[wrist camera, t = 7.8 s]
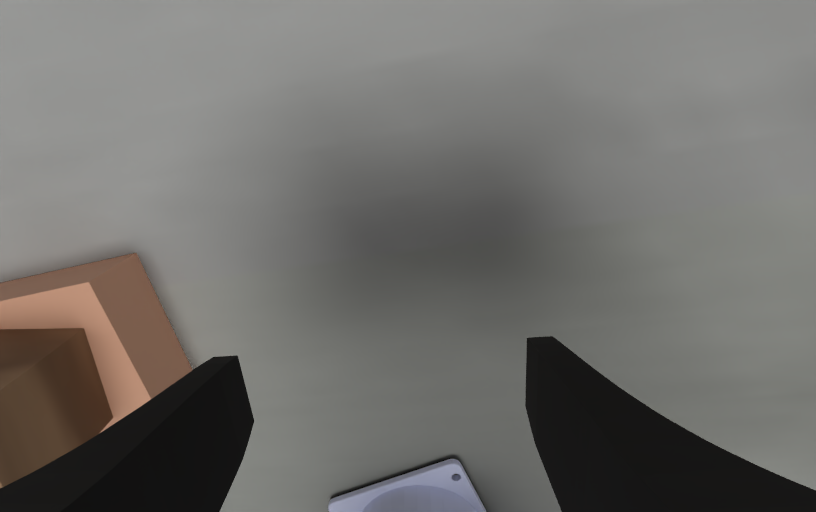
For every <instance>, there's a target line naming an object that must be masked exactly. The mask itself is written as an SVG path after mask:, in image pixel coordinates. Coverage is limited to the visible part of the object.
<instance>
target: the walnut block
mask: <svg viewBox="0 0 816 512" xmlns="http://www.w3.org/2000/svg"><path fill="white" fill-rule="evenodd" d="M112 419H113V415H112V412H111V409H110V406H109V403H108V400H107V397H106V394H105V391H104V388H103V385H102V382H101V379H100V376H99V373H98V369H97V366H96V363H95V360H94V357H93V354H92V351H91V348H90V345H89V342H88V339H87V336H86V333H85V330H84V328H55V329H0V488H2V487H4V486H6V485H8V484H10V483H12V482H14V481H16V480H18V479H20V478H22V477H24V476H26V475H28V474H30V473H32V472H34V471H36V470H38V469H39V468H41V467H43V466H45V465H47V464H48V463H50V462H52V461H54V460H56V459H57V458H59V457H61V456H63V455H64V454H66V453H68V452H70V451H71V450H73V449H75V448H76V447H78V446H80V445H82V444H83V443H85V442H87V441H88V440H90V439H91V438H93V437H95V436H96V435H98V434H99V433H100V432H101V431H102V430H103V429H104V428H105V426H106V425H107V424H108V423H109V422H110V421H111V420H112Z"/></svg>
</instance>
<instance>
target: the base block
mask: <svg viewBox="0 0 816 512" xmlns="http://www.w3.org/2000/svg"><path fill="white" fill-rule="evenodd" d="M55 328H84V330H85V333H86V336H87V339H88V342H89V345H90V348H91V351H92V354H93V357H94V360H95V363H96V366H97V369H98V373H99V376H100V379H101V382H102V385H103V388H104V391H105V394H106V397H107V400H108V403H109V406H110V409H111V412H112V415H113V419H112V420H111V421H110V422H109V423H108V424H107V425H106V426H105V428H104V429H103V430H102V431H104V430H105V429H107V428H109V427H110V426H112V425H113V424H115V423H116V422H118V421H119V420H121V419H122V418H124V417H125V416H127V415H128V414H130V413H132V412H133V411H135V410H136V409H138V408H139V407H141V406H142V405H144V404H145V403H146V402H148V401H149V400H151V399H152V398H154V397H155V396H156V395H158V394H159V393H161V392H162V391H164V390H165V389H166V388H168V387H169V386H171V385H172V384H174V383H175V382H176V381H178V380H179V379H181V378H182V377H184V376H185V375H187V374H188V373H189V372H191V371H192V368H191V366H190V364H189V362H188V360H187V358H186V356H185V353H184V351H183V349H182V347H181V345H180V343H179V341H178V339H177V337H176V335H175V333H174V331H173V328H172V326H171V324H170V322H169V320H168V318H167V316H166V314H165V312H164V310H163V308H162V306H161V303H160V301H159V299H158V297H157V295H156V293H155V291H154V289H153V287H152V285H151V283H150V281H149V278H148V276H147V274H146V272H145V270H144V268H143V266H142V264H141V262H140V260H139V258H138V256H137V253H133V254H129V255H124V256H120V257H115V258H111V259H106V260H102V261H97V262H93V263H88V264H84V265H79V266H75V267H70V268H66V269H61V270H57V271H52V272H48V273H43V274H39V275H34V276H30V277H25V278H21V279H16V280H12V281H7V282H3V283H0V329H55ZM102 431H101V432H102ZM101 432H100V433H101Z"/></svg>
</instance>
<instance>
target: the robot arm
mask: <svg viewBox="0 0 816 512" xmlns="http://www.w3.org/2000/svg"><path fill="white" fill-rule="evenodd" d="M525 406H526V410H527V414H528V418H529V422H530V426H531V430H532V433H533V437H534V441H535V444H536V447H537V450H538V452H539V455H540V457H541V460H542V462H543V465H544V468H545V470H546V473H547V475H548V478H549V480H550V483H551V485H552V488H553V490H554V493H555V495H556V498H557V500H558V503H559V505H560V508H561V510H562V512H816V490H813V489H811V488H808V487H806V486H803V485H801V484H798V483H796V482H793V481H791V480H789V479H786V478H784V477H782V476H780V475H777V474H775V473H773V472H770V471H768V470H766V469H764V468H761V467H759V466H757V465H755V464H753V463H751V462H749V461H747V460H745V459H743V458H740V457H738V456H736V455H734V454H732V453H730V452H728V451H726V450H724V449H722V448H720V447H718V446H716V445H714V444H712V443H710V442H708V441H706V440H704V439H702V438H701V437H699V436H697V435H695V434H693V433H692V432H690V431H688V430H686V429H685V428H683V427H681V426H679V425H677V424H676V423H674V422H672V421H670V420H669V419H667V418H665V417H664V416H662V415H660V414H659V413H657V412H655V411H654V410H652V409H651V408H649V407H648V406H646V405H645V404H643V403H642V402H640V401H639V400H637V399H636V398H634V397H633V396H631V395H629V394H628V393H627V392H625V391H624V390H622V389H621V388H619V387H618V386H617V385H615V384H614V383H612V382H611V381H610V380H608V379H607V378H606V377H604V376H603V375H602V374H600V373H599V372H598V371H596V370H595V369H594V368H592V367H591V366H590V365H588V364H587V363H586V362H585V361H583V360H582V359H581V358H579V357H578V356H577V355H576V354H574V353H573V352H572V351H571V350H569V349H568V348H567V347H566V346H564V345H563V344H562V343H561V342H559V341H558V340H557V339H555V338H554V337H552V336H550V337H534V338H527V363H526V405H525ZM253 423H254V419H253V415H252V411H251V407H250V403H249V399H248V395H247V391H246V387H245V383H244V379H243V375H242V371H241V367H240V363H239V359H238V356H223V357H213V358H211V359H210V360H208V361H206V362H205V363H203V364H201V365H200V366H198V367H197V368H195V369H194V370H192V371H191V372H189V373H188V374H187V375H185V376H184V377H182V378H181V379H179V380H178V381H176V382H175V383H174V384H172V385H171V386H169V387H168V388H166V389H165V390H164V391H162V392H161V393H159V394H158V395H156V396H155V397H154V398H152V399H151V400H149V401H148V402H146V403H145V404H144V405H142V406H141V407H139V408H138V409H136V410H135V411H133V412H132V413H130V414H128V415H127V416H125V417H124V418H122V419H121V420H119V421H118V422H116V423H115V424H113V425H112V426H110V427H109V428H107V429H105V430H104V431H102V432H101V433H99V434H98V435H96V436H95V437H93V438H91V439H90V440H88V441H87V442H85V443H83V444H82V445H80V446H78V447H76V448H75V449H73V450H71V451H70V452H68V453H66V454H64V455H63V456H61V457H59V458H57V459H56V460H54V461H52V462H50V463H48V464H47V465H45V466H43V467H41V468H39V469H38V470H36V471H34V472H32V473H30V474H28V475H26V476H24V477H22V478H20V479H18V480H16V481H14V482H12V483H10V484H8V485H6V486H4V487H2V488H0V512H219V511H220V509H221V507H222V505H223V502H224V500H225V498H226V496H227V494H228V492H229V489H230V487H231V485H232V483H233V480H234V478H235V476H236V474H237V471H238V469H239V467H240V464H241V462H242V460H243V457H244V454H245V450H246V447H247V444H248V441H249V437H250V434H251V430H252V427H253ZM453 474H458V475H453ZM328 510H329V512H487V511H486V509H485V507H484V506H483V504H482V502H481V500H480V498H479V496H478V494H477V492H476V491H475V489H474V487H473V485H472V483H471V481H470V479H469V478H468V476H467V474H466V472H465V470H464V468H463V466H462V465H461V463H460V462H459V461H458V460H456V459H448V460H445V461H442V462H439V463H436V464H433V465H430V466H427V467H424V468H421V469H418V470H415V471H412V472H409V473H406V474H403V475H400V476H397V477H394V478H391V479H388V480H385V481H382V482H379V483H376V484H373V485H370V486H367V487H364V488H361V489H358V490H355V491H352V492H349V493H347V494H344V495H341V496H338V497H335V498H332V499H331V500H330V501H329V505H328Z"/></svg>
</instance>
